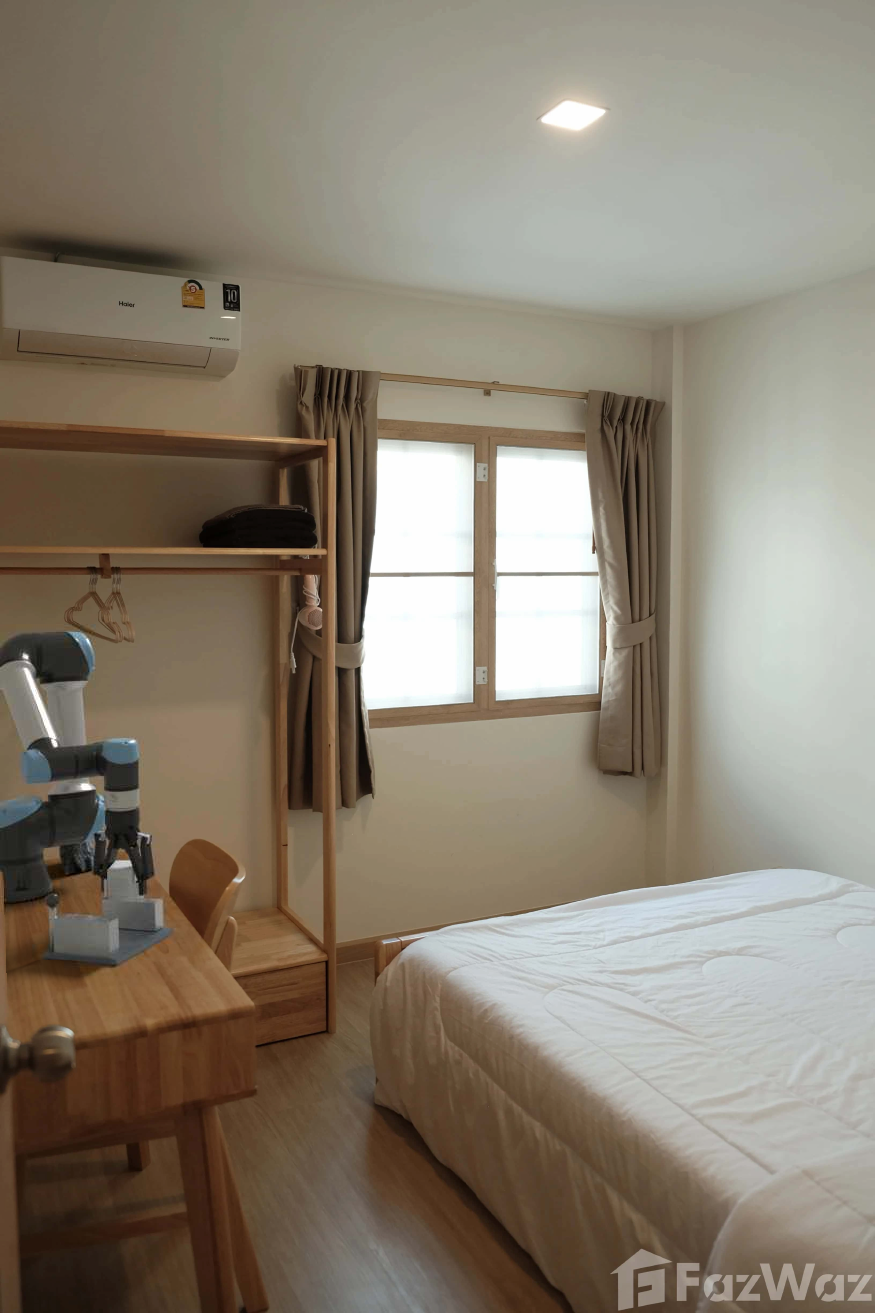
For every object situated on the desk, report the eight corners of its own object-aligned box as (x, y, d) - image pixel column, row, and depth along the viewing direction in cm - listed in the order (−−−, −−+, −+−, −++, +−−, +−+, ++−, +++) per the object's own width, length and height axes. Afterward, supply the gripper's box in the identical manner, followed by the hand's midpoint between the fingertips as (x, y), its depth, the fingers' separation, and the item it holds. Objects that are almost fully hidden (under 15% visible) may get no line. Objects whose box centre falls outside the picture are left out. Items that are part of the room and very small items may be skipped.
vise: (102, 927, 218) (100, 870, 217) (173, 933, 213) (171, 875, 212) (41, 957, 199) (39, 895, 198) (117, 965, 194) (115, 901, 193)
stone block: (95, 873, 264) (92, 798, 263) (59, 876, 261) (56, 801, 260) (96, 857, 281) (94, 787, 280) (62, 860, 278) (60, 789, 278)
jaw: (111, 922, 217) (110, 895, 216) (163, 927, 213) (162, 899, 213) (102, 926, 214) (101, 899, 213) (155, 931, 210) (154, 903, 210)
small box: (116, 905, 228) (115, 860, 228) (141, 904, 229) (139, 859, 228) (107, 916, 220) (106, 869, 220) (133, 915, 221) (132, 869, 220)
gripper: (73, 808, 222) (76, 908, 224) (151, 813, 217) (153, 916, 218) (94, 801, 230) (96, 899, 231) (170, 806, 224) (172, 906, 225)
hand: (124, 907), depth 225 cm, fingers closed on small box, 7 cm apart
